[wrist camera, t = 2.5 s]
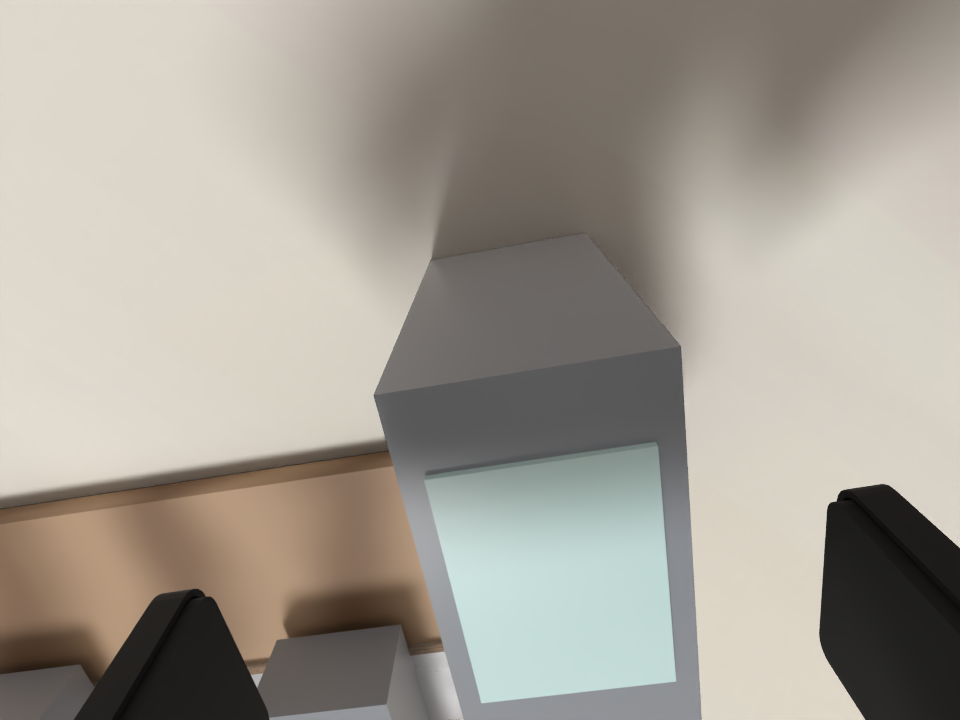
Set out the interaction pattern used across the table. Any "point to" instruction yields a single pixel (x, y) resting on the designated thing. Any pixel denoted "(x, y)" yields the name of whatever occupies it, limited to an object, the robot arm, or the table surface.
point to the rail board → (231, 590)
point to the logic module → (547, 485)
